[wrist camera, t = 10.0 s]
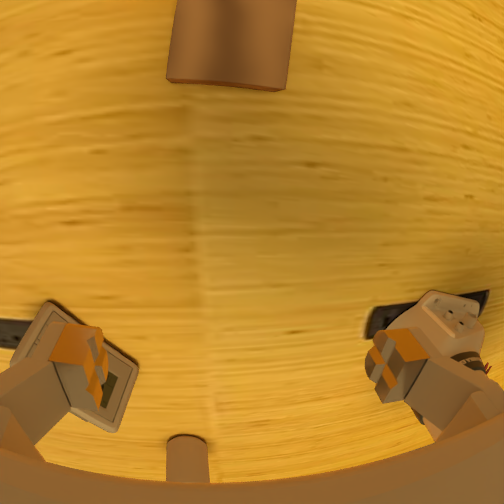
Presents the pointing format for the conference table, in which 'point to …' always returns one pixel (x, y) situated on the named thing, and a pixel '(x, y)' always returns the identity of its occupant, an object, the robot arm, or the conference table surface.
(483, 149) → the conference table surface
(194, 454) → the can
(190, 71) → the block
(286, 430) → the conference table surface
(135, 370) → the digital clock
